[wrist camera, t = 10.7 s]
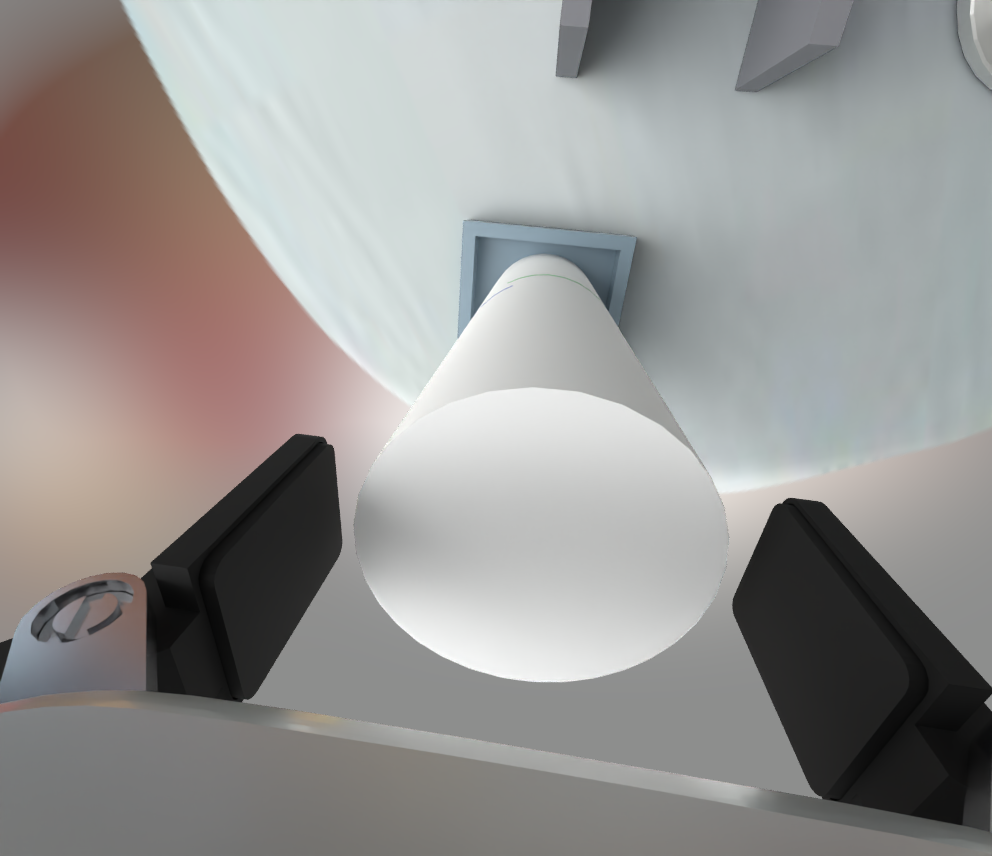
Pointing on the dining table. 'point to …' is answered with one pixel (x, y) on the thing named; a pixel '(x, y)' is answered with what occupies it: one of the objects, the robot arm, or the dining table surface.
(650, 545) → the cylindrical container
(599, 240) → the tray
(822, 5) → the bay
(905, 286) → the dining table surface
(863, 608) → the robot arm
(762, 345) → the dining table surface
